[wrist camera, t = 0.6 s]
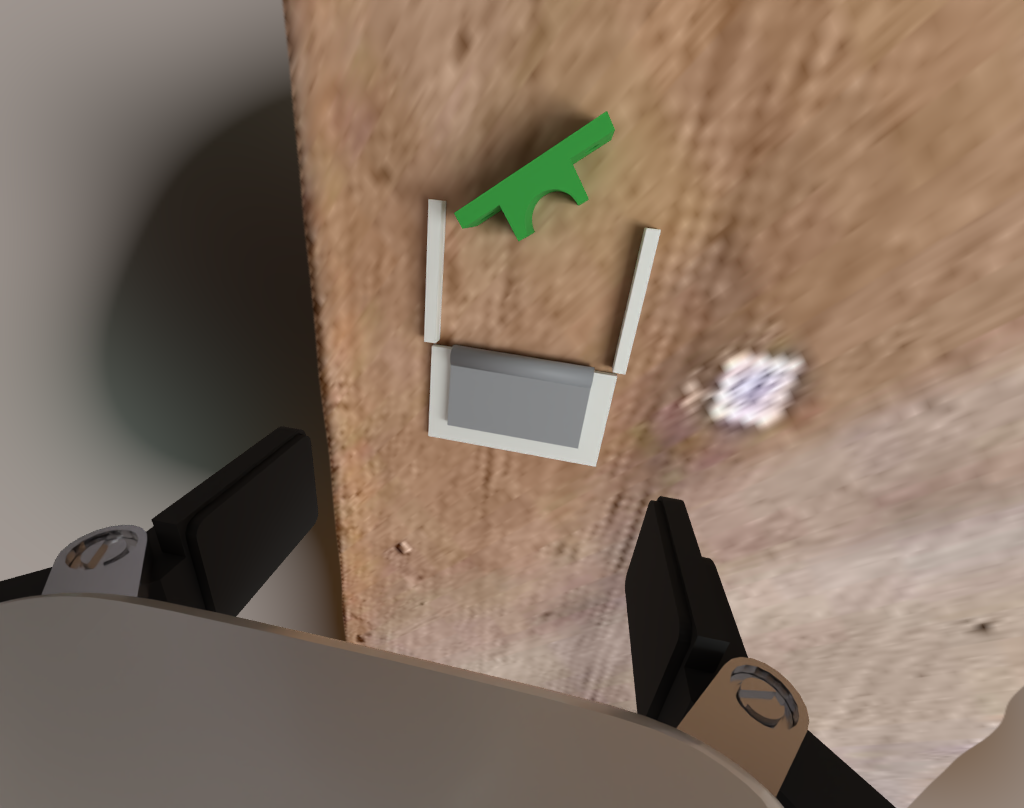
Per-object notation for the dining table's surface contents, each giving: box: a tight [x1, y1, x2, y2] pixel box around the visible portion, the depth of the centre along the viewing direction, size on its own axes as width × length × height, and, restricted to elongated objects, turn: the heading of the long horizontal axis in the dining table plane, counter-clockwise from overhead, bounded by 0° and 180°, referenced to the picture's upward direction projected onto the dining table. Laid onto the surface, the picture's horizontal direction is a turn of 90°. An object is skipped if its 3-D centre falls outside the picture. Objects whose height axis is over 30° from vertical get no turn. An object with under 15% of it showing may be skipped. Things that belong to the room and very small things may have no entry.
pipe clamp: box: [454, 111, 615, 241], centre depth 30 cm, size 11×4×5 cm, turn 120°
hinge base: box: [424, 199, 661, 467], centre depth 36 cm, size 20×17×2 cm
